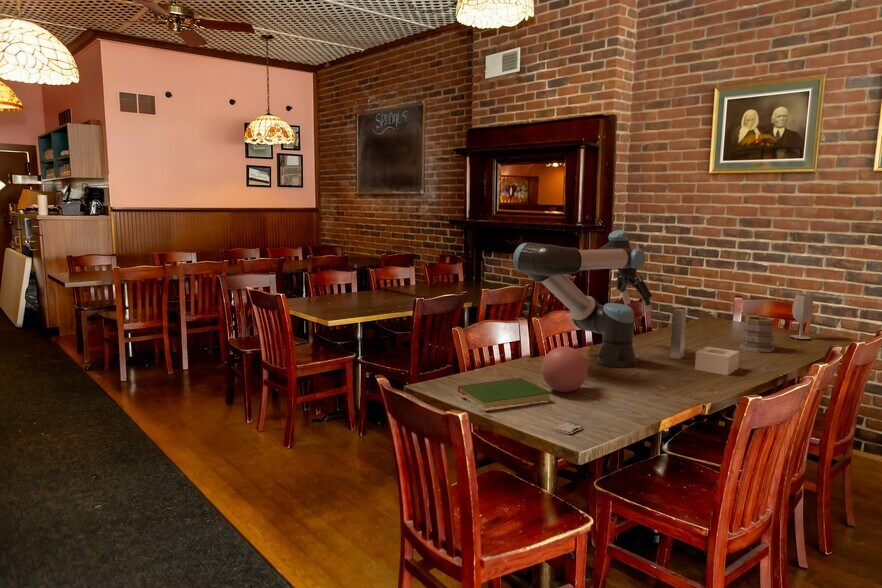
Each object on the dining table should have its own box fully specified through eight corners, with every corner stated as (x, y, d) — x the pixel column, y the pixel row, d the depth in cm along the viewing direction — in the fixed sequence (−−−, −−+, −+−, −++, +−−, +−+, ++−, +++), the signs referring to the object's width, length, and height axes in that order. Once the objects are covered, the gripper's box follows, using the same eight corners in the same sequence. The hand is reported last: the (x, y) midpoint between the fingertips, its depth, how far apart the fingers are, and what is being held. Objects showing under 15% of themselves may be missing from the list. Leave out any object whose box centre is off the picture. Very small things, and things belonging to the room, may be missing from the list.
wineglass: (785, 337, 297) (788, 294, 294) (799, 336, 300) (803, 293, 297) (800, 341, 289) (804, 296, 286) (815, 340, 291) (819, 295, 288)
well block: (727, 375, 231) (728, 357, 230) (694, 369, 239) (695, 351, 238) (737, 369, 240) (739, 351, 239) (706, 363, 248) (707, 346, 247)
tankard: (778, 353, 266) (781, 318, 264) (748, 352, 266) (751, 318, 264) (756, 342, 286) (758, 310, 284) (728, 342, 286) (730, 310, 284)
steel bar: (679, 358, 256) (682, 311, 253) (670, 357, 259) (672, 309, 256) (683, 357, 259) (686, 309, 256) (674, 355, 262) (676, 308, 259)
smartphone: (540, 415, 187) (584, 426, 176) (540, 418, 187) (584, 429, 176) (525, 421, 181) (569, 432, 171) (525, 424, 182) (569, 436, 171)
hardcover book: (520, 388, 217) (520, 377, 217) (550, 403, 200) (551, 392, 200) (456, 397, 207) (456, 386, 207) (482, 414, 190) (482, 402, 190)
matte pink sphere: (606, 391, 212) (608, 347, 210) (562, 400, 201) (564, 354, 199) (574, 380, 225) (575, 338, 222) (531, 389, 214) (532, 345, 212)
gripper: (653, 265, 255) (664, 309, 263) (614, 256, 277) (625, 297, 285) (639, 274, 253) (651, 318, 261) (601, 263, 275) (613, 304, 283)
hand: (638, 307), depth 273 cm, fingers open, 13 cm apart
